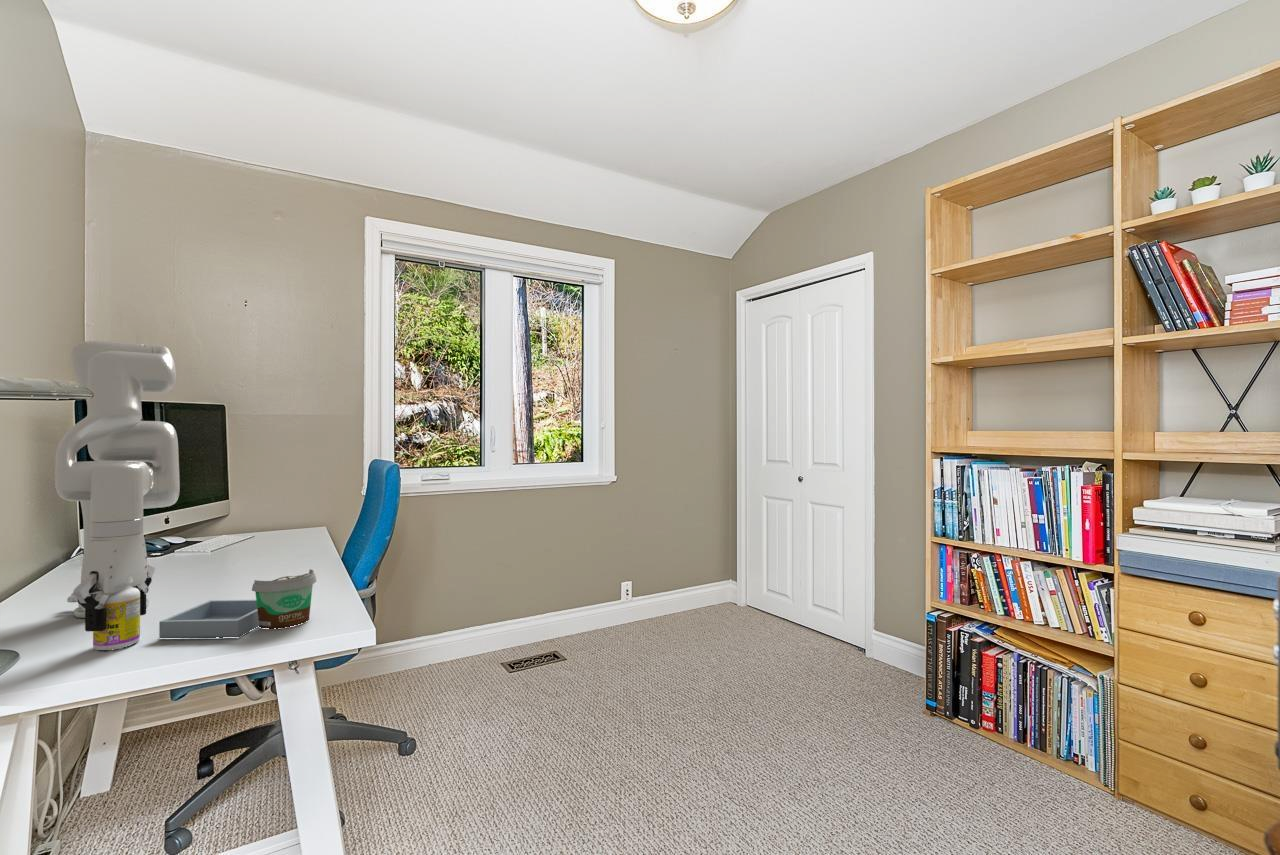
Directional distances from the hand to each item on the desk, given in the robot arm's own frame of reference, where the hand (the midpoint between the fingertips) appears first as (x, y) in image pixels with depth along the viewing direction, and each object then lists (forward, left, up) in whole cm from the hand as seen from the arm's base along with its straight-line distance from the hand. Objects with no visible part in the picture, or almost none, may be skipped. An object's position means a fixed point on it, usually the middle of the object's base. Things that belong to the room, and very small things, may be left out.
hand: (117, 622), depth 113 cm
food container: (+26, +11, -5) cm, 29 cm away
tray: (+13, +10, -4) cm, 17 cm away
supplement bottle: (0, 0, -5) cm, 5 cm away
